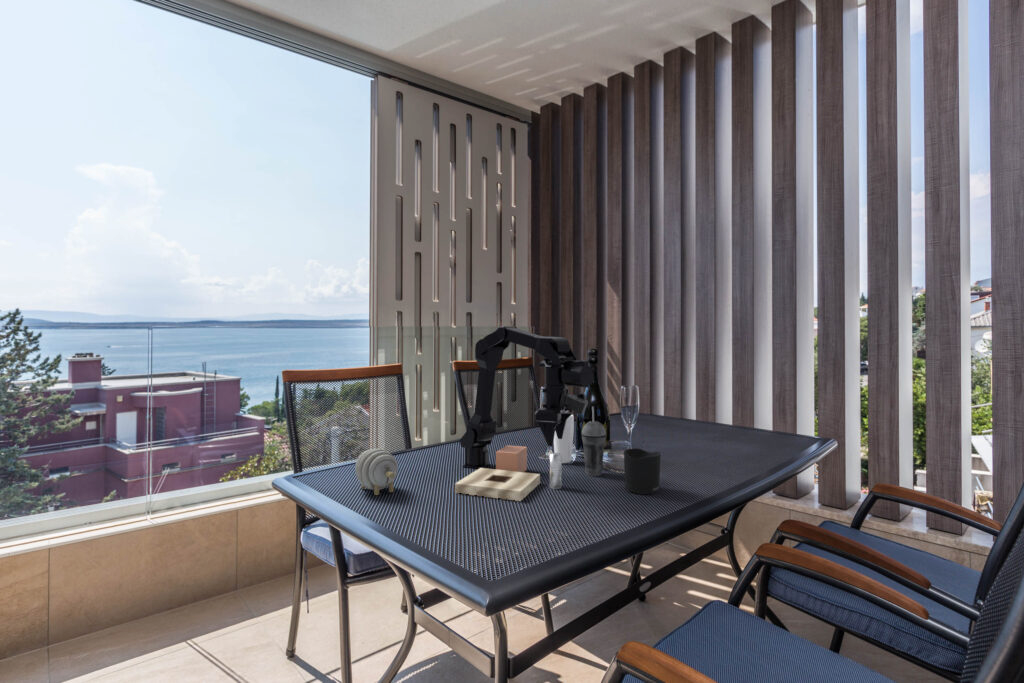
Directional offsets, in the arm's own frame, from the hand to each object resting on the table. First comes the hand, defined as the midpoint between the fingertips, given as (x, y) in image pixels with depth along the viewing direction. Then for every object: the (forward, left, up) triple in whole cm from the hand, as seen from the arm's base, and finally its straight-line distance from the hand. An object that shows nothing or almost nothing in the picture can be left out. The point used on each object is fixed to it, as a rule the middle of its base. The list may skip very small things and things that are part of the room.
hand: (555, 442), depth 141 cm
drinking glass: (-5, +26, -12) cm, 29 cm away
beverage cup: (+7, +16, -12) cm, 21 cm away
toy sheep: (-43, -20, -12) cm, 49 cm away
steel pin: (0, 0, -12) cm, 12 cm away
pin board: (-14, -6, -12) cm, 19 cm away
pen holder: (+22, +6, -12) cm, 26 cm away
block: (-16, +9, -12) cm, 22 cm away
